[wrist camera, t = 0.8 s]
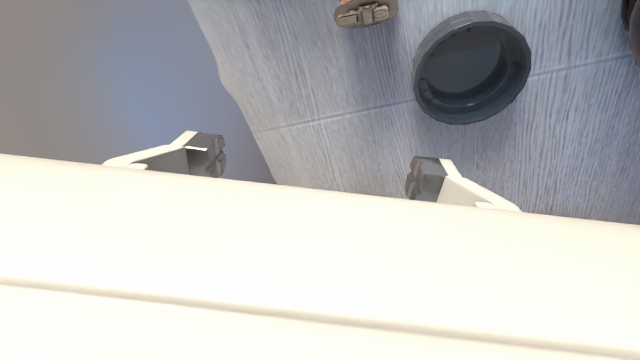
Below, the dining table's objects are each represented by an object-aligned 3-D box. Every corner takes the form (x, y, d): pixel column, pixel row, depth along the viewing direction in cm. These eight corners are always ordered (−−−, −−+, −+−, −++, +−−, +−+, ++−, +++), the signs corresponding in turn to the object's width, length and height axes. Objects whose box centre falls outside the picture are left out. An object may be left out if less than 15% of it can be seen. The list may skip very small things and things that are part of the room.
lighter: (396, -22, 42) (398, -6, 34) (397, 6, 44) (399, 26, 37) (338, -9, 44) (328, 8, 36) (342, 16, 46) (333, 38, 39)
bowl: (517, -9, 41) (531, 1, 36) (519, 92, 49) (530, 109, 45) (402, 34, 46) (403, 46, 42) (422, 117, 55) (425, 134, 51)
